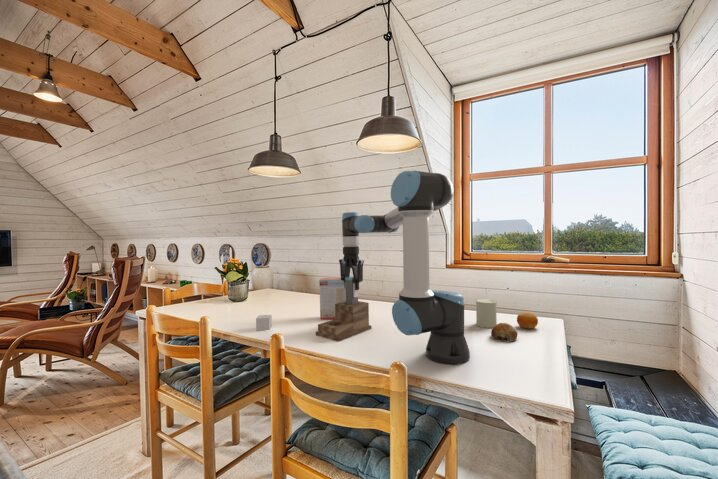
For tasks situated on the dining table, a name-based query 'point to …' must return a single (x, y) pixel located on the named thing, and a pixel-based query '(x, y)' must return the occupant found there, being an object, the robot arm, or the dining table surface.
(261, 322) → the gray cube
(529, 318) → the fruit
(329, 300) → the cracker box
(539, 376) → the dining table surface
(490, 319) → the can
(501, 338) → the bread roll
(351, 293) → the plug
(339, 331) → the wooden desk organizer
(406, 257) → the robot arm
